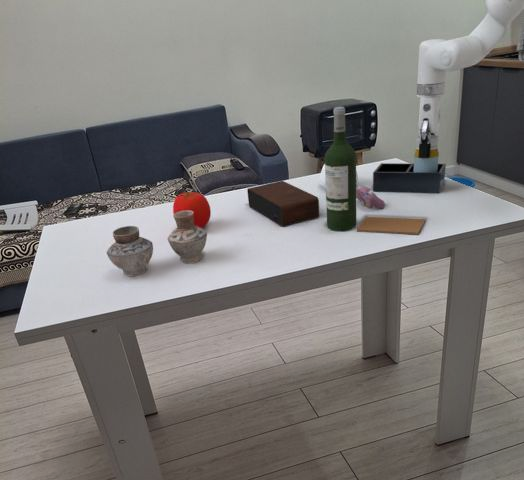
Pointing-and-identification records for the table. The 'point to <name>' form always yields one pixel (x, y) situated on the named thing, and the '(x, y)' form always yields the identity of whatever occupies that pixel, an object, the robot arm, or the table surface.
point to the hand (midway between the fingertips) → (426, 153)
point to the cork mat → (391, 225)
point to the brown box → (283, 203)
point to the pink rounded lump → (369, 198)
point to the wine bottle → (340, 178)
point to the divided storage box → (407, 179)
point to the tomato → (193, 207)
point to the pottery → (140, 249)
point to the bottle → (427, 163)
